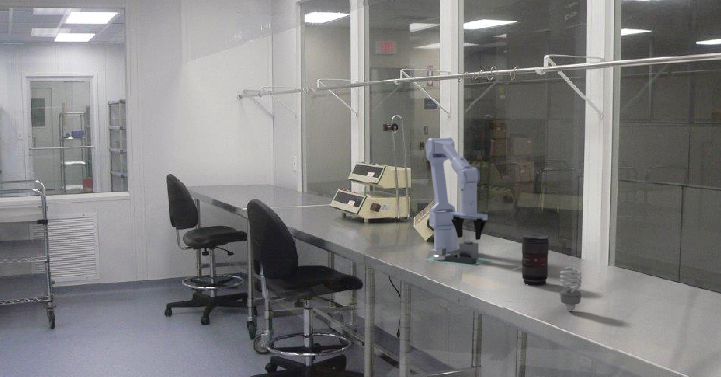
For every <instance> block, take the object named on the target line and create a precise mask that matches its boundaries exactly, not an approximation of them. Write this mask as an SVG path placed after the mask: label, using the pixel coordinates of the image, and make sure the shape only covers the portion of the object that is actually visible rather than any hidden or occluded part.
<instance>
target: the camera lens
mask: <svg viewBox="0 0 721 377" xmlns="http://www.w3.org/2000/svg"><path fill="white" fill-rule="evenodd" d="M549 241H550V240H549V236H546V235H541V234H525V235H523V236H522V239H521V254H522V258H521V263H522V266H521V278H522V279H523V284H524V283H525V284H524V285H526V284H528V285H527V286H530V285H536V286H535V287H537V286H538V285H541V286H544V285H546V283H547V279H548V274H549V273H548V272H549V262H548V261H549V260H548V259H549V250H550V249H549V245H550V242H549ZM538 287H539V286H538Z"/></svg>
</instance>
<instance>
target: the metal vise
mask: <svg viewBox="0 0 721 377" xmlns="http://www.w3.org/2000/svg"><path fill="white" fill-rule="evenodd" d="M448 254H449V253H446V248H442V247H440V248H436V253H434V254H433V255H432V257H433V260H435V261H449V262H457V263H464V264H471V265H472V264H476V258H470V257H462V256H458V255H459V254H456V253H451V255H448ZM476 265H477V264H476Z"/></svg>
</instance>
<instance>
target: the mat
mask: <svg viewBox="0 0 721 377" xmlns="http://www.w3.org/2000/svg"><path fill="white" fill-rule="evenodd" d="M447 254H448V255H451V254H452V253H451V254H450V253H447ZM457 255H458V256H459V254H457ZM423 261H427V262H434V263H435V262H436V263H443V264H447V265H448V264H449V265H456V266H463V267H468V268H469V267H473V266H476V265H479V264H484V263H486V262H490V261H491V259H489V258H480V257H478V259H477V260H476V264H472V265H471V264H464V263H457V262H449V261H435V260H433V256H432V257H429V258H425V259H423Z"/></svg>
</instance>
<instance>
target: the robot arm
mask: <svg viewBox="0 0 721 377" xmlns="http://www.w3.org/2000/svg"><path fill="white" fill-rule="evenodd" d="M425 153H426V160H427V161H429V163H430V172H431V179H432V180H431V181H432V185H433V186H432V187H433V195H434V203H435V204H434V205H433V206H432V207H431V208H430V209H429V218H428V221H429V225H430V227H432V229H433V238H434V239H433V240H434V241H433V242H434V243H433V245H434V246H433V248H431V249H429V251H430V252H436V248H440V247H442V248H446V254H449V253H452V252H455V251H458V250H459V244H458V239H461V238H463V236H464V235H463V234H464V231H463V228H464V223H465V222H464V221H465V219H468V220H473V225H474V235H475V237H474V238H475V241H478V240H481V236H482V233H483V230H484V228H485V226H486V225H487V221H488V219H489V218H488V216H489V215H488V214H485V213H481V212H480V213H478V210H477V208H478V206H477V203H478V202H477V201H478V200H477V199H478V195H477V194H478V189H477V188H478V186H477V185H478V183H480V179H481V173H480V171H479V169H478V168H477V167H475V166H471V164H470V163H469V162H468V161H467V159H466V158H465V157H464V156H461V155H459V153H458V152H457V150H456V148H455V141H454V139H453V138H452V137H441V138H440V137H438V138H437V137H436V138H432V137H430V138H428V139H427V141H426V144H425ZM447 160H449V162H451V163H450V164H451V165H450V166H451V168H452V170H453V171H454V172H455V173H456V175H457V180H458V185H459V186H458V187H459V189H460V211H456V209H455V206H454V205H453V204H451V203H450V202H449V197H448V191H447V190H448V189H447V182H446V174H445V166H444V164H445V161H447Z"/></svg>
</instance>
